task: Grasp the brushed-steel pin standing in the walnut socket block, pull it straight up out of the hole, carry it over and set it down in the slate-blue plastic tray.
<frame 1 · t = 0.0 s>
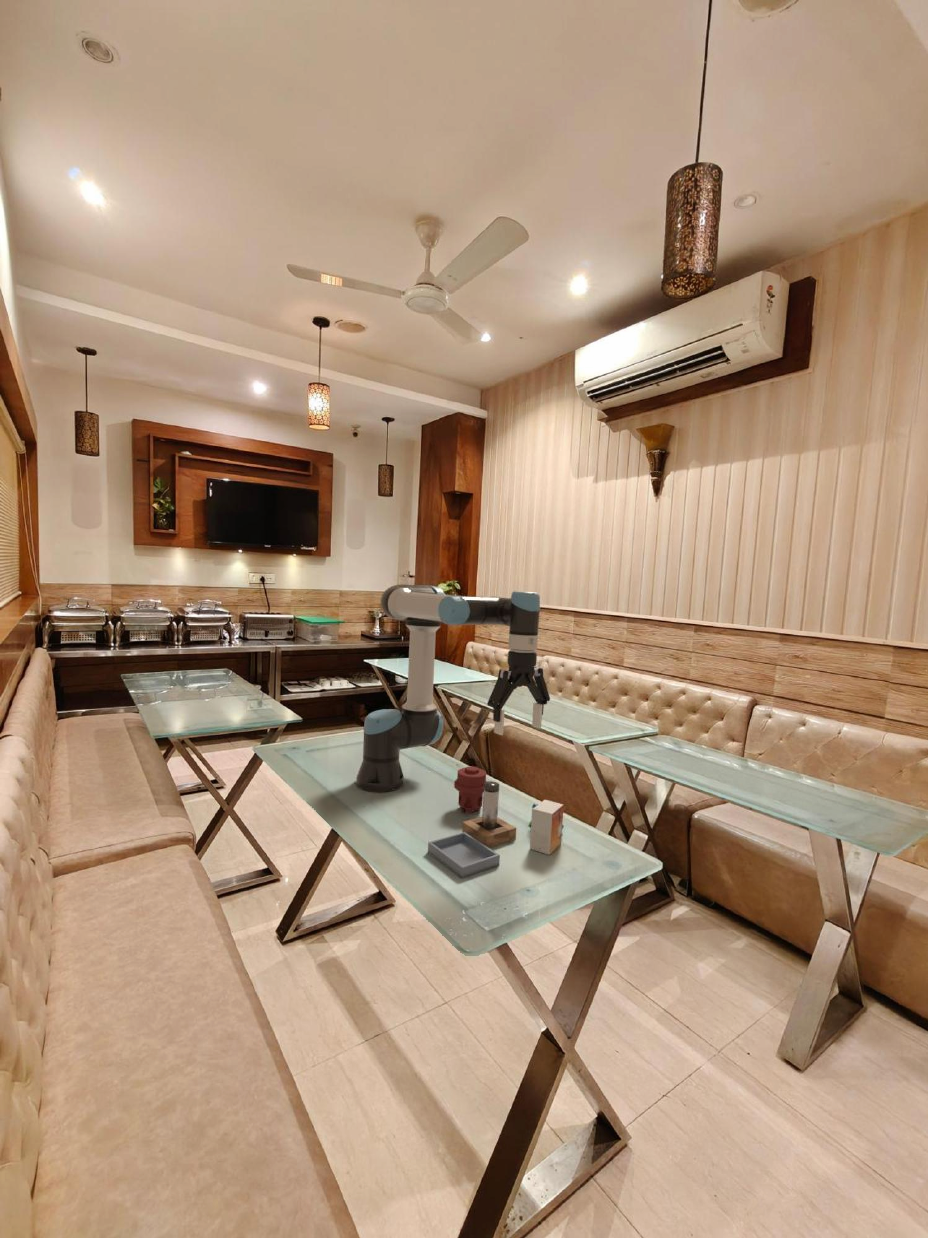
hand: (518, 730, 144), 28 cm above the table, fingers open, 13 cm apart
small box: (545, 847, 140), on the table
socket: (488, 836, 144), on the table
pin: (490, 810, 143), in the socket
mechanical component: (469, 810, 160), on the table
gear: (545, 830, 150), on the table
tray: (462, 858, 131), on the table
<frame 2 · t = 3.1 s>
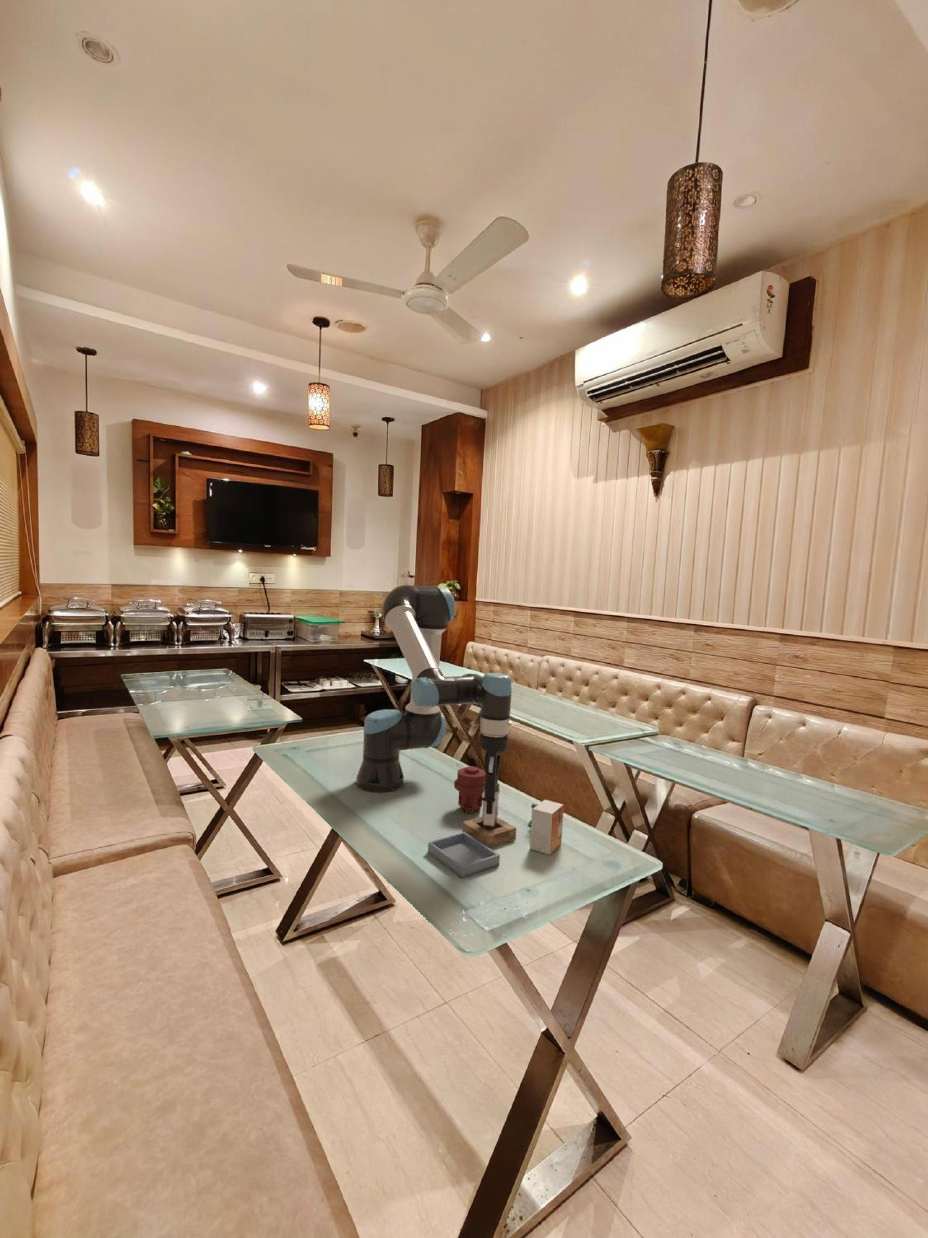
hand: (489, 820, 144), 4 cm above the table, fingers closed on pin, 4 cm apart
pin: (490, 810, 143), in the socket, touching gripper
everything else where it was.
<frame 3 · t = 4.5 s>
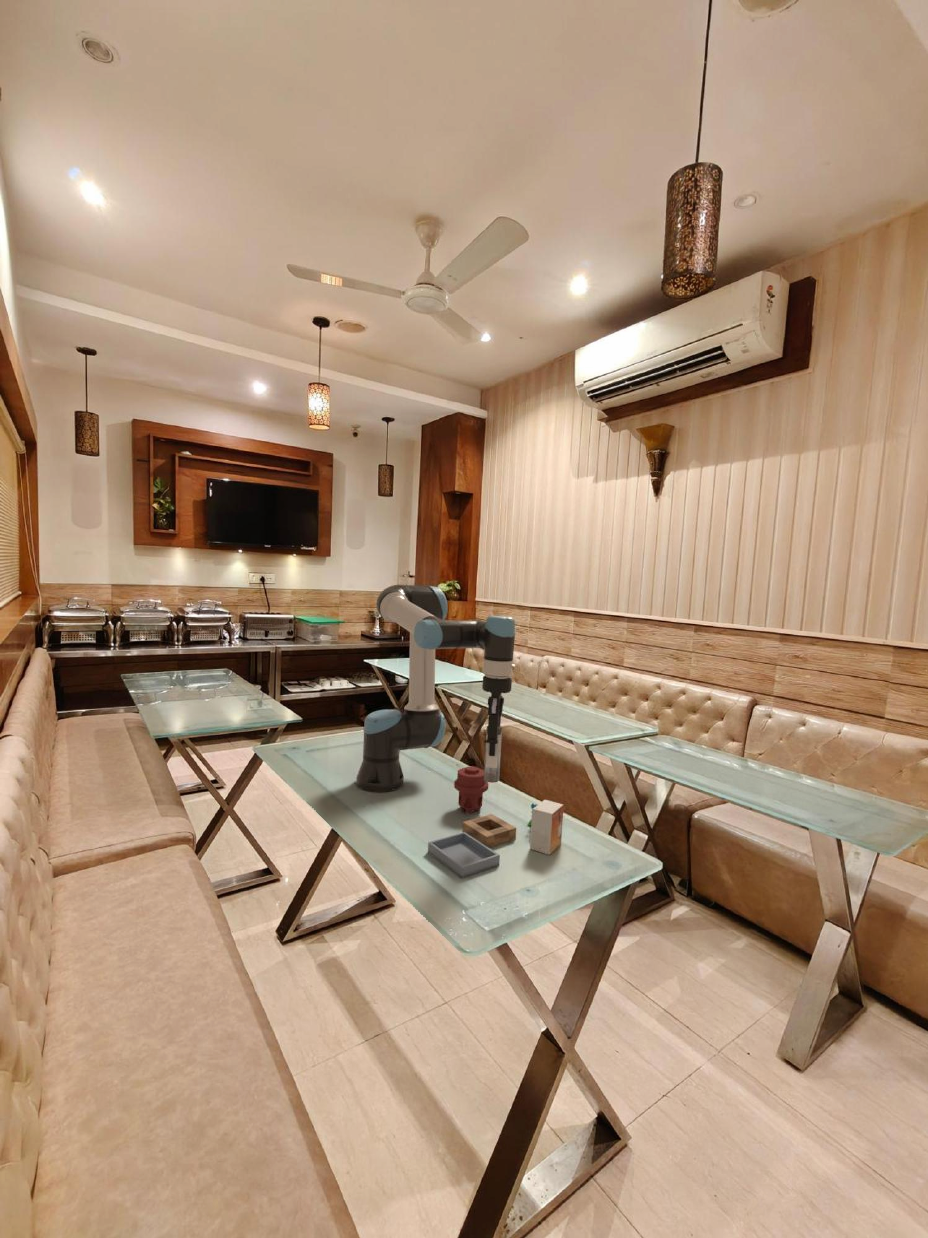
hand: (492, 764, 143), 19 cm above the table, fingers closed on pin, 4 cm apart
pin: (492, 753, 143), point 22 cm above the table, touching gripper
everything else where it was.
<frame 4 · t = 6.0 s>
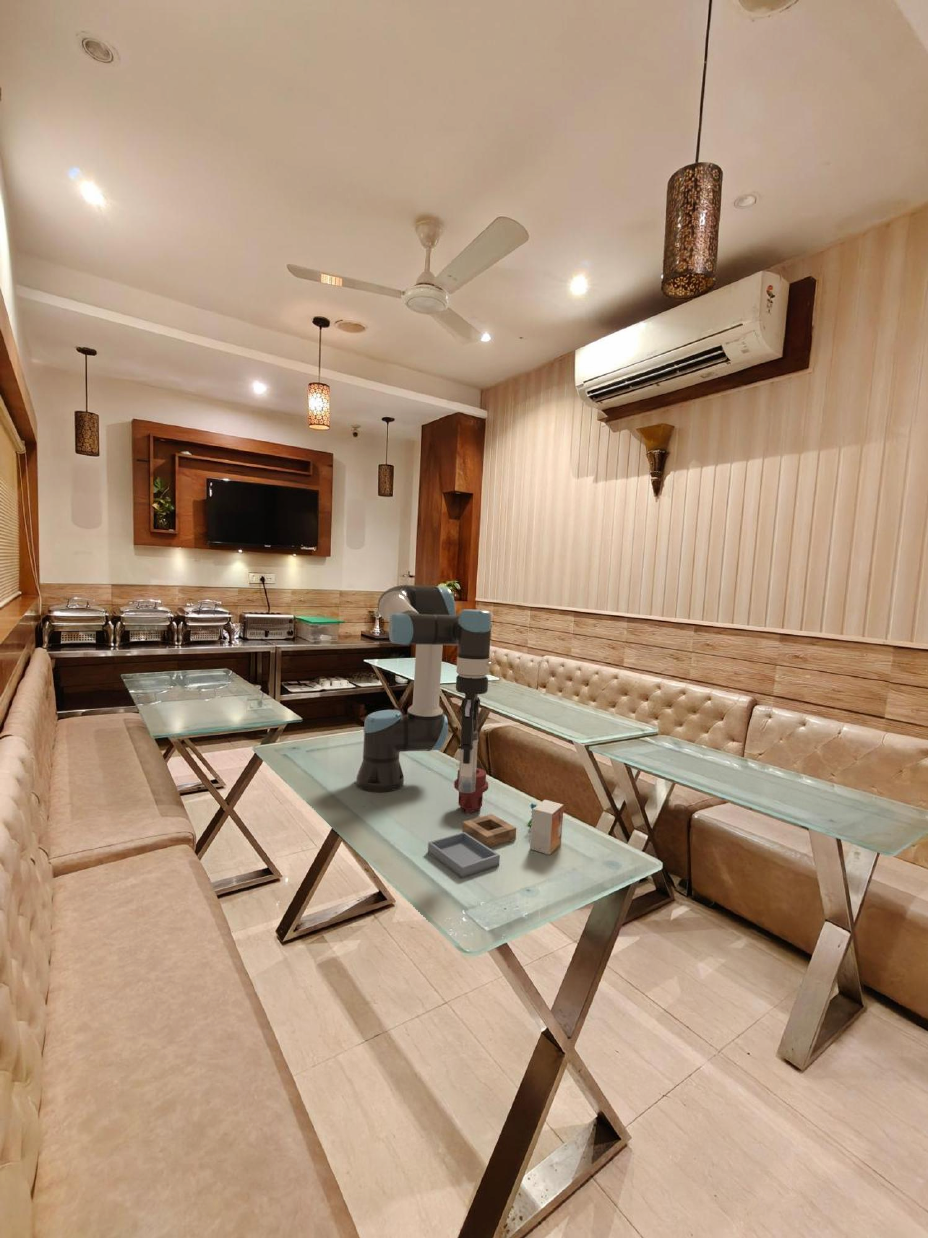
hand: (467, 772, 130), 21 cm above the table, fingers closed on pin, 4 cm apart
pin: (468, 761, 130), point 24 cm above the table, touching gripper
everything else where it was.
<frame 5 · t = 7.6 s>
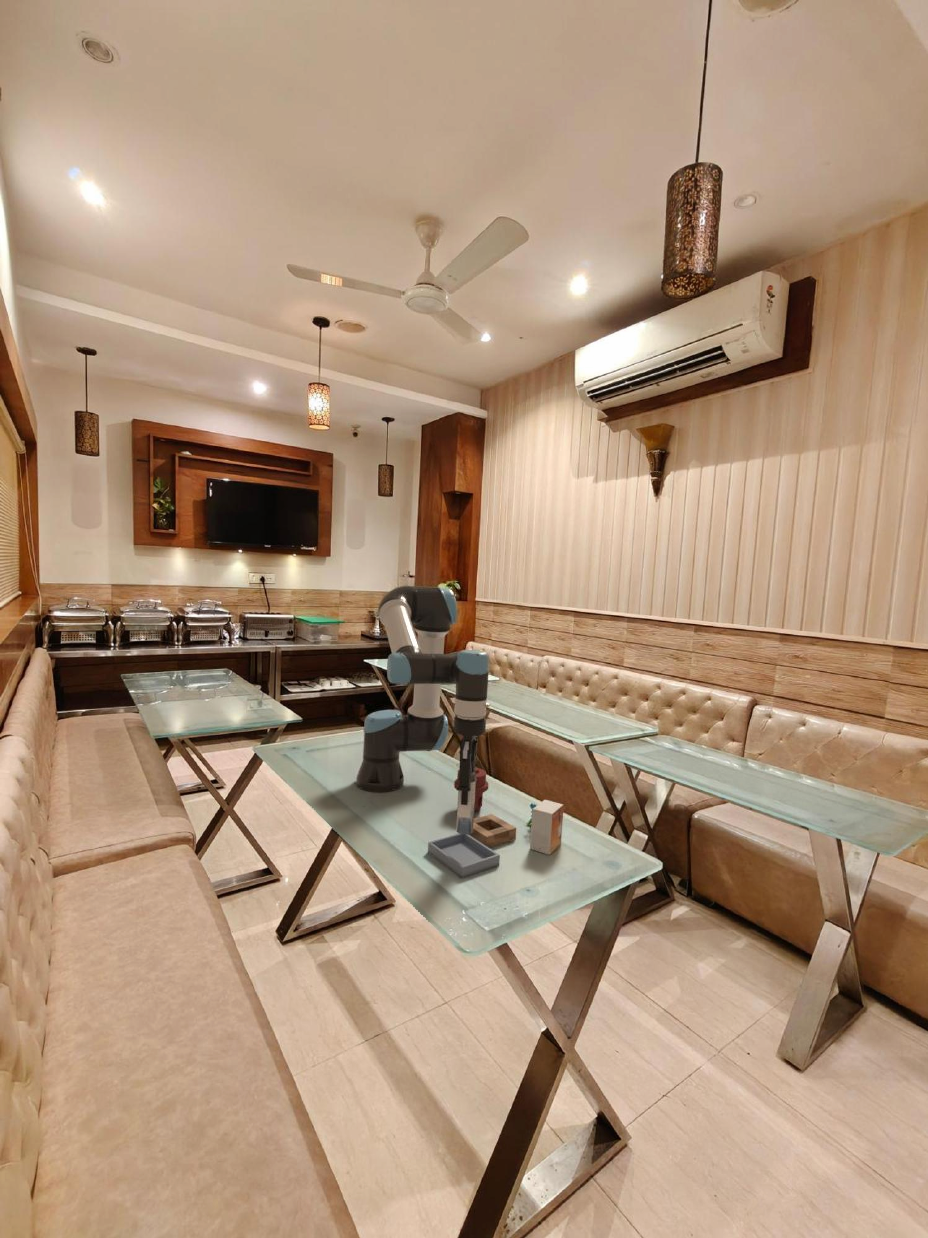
hand: (465, 812, 130), 11 cm above the table, fingers closed on pin, 4 cm apart
pin: (466, 802, 130), point 14 cm above the table, touching gripper
everything else where it was.
when the fingers open (6 cm above the table, at t = 9.0 s): pin stays where it is, resting on tray.
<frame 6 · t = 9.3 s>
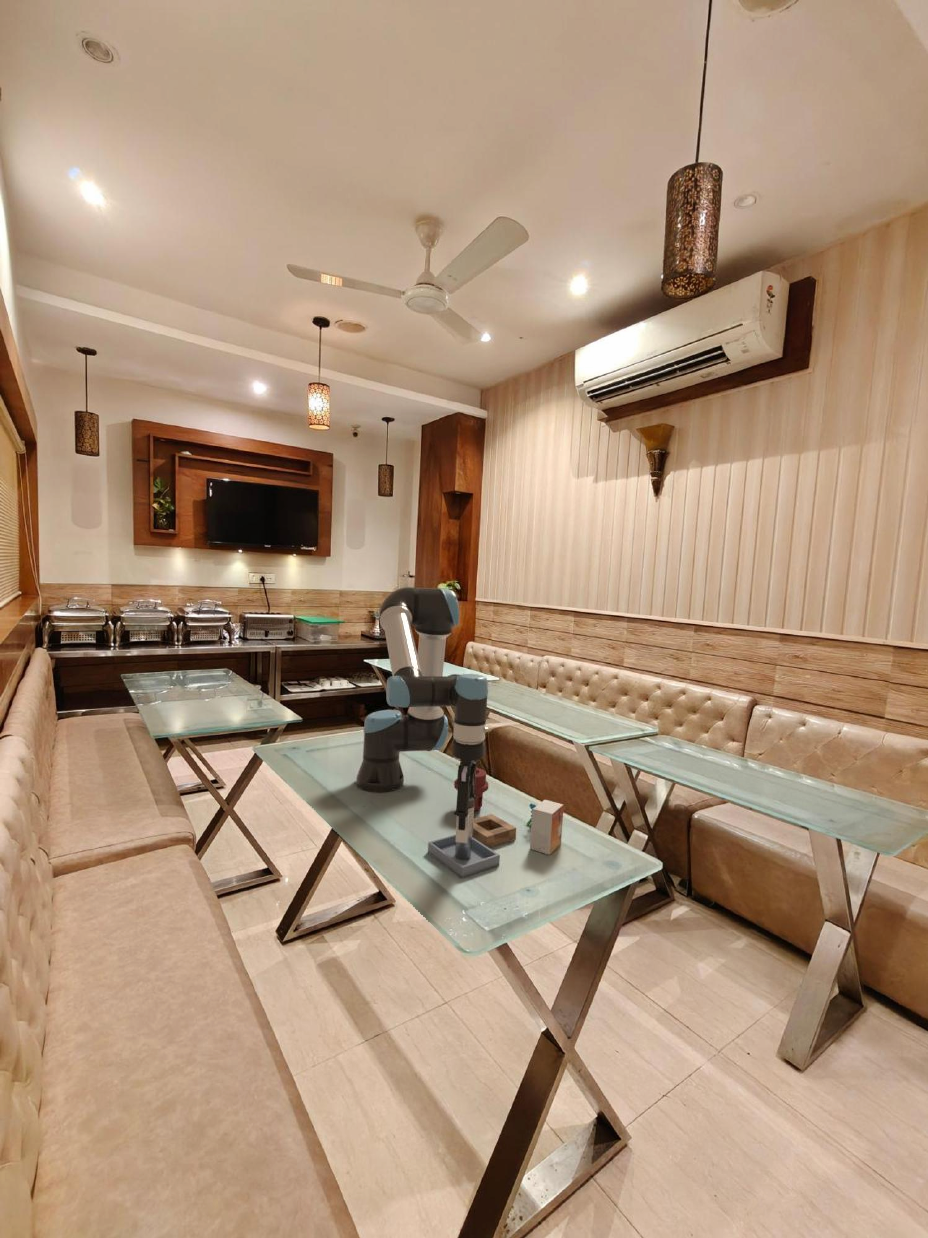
hand: (464, 833, 131), 6 cm above the table, fingers open, 8 cm apart
pin: (464, 827, 131), in the tray, point 8 cm above the table
everything else where it was.
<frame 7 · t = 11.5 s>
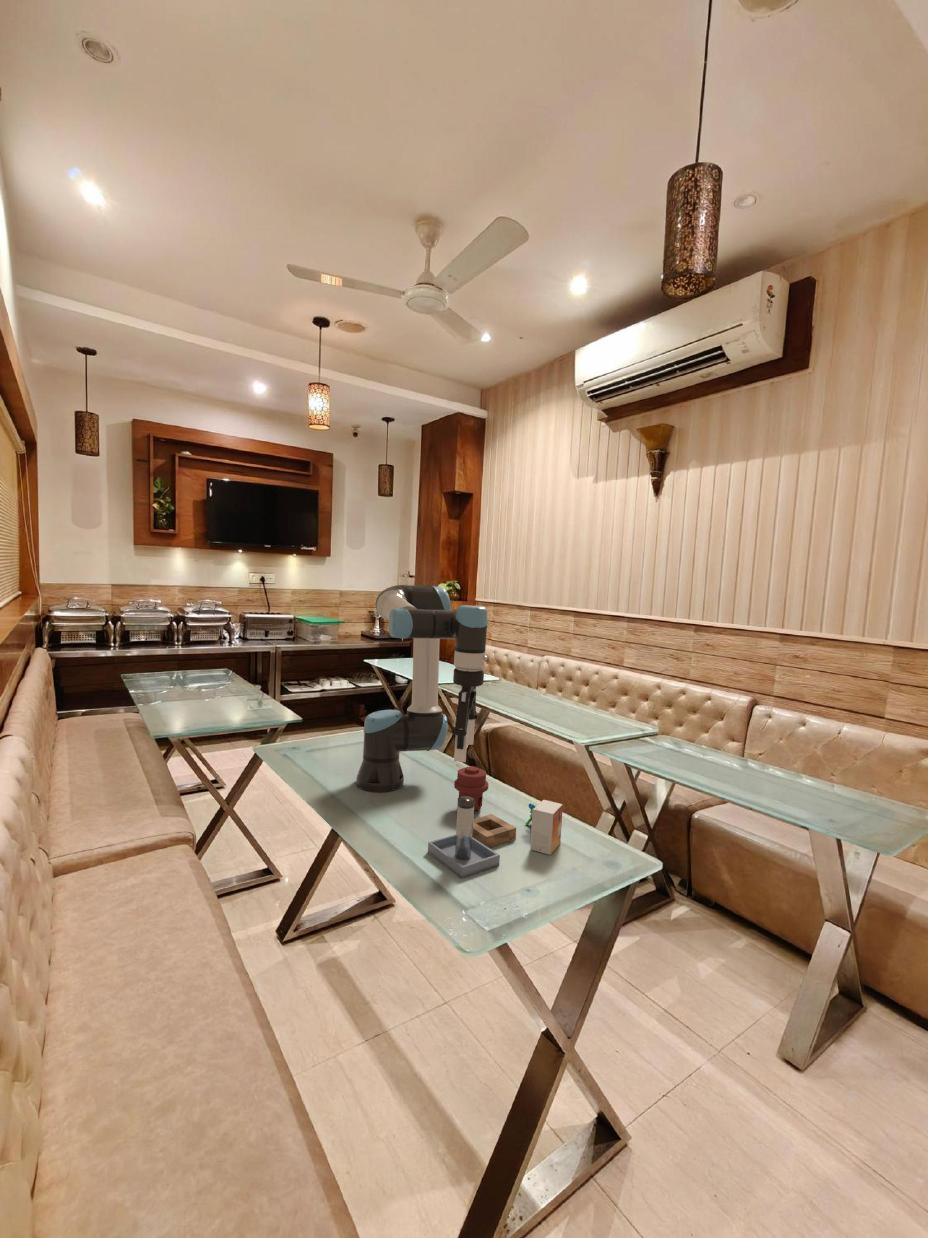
hand: (464, 752, 137), 24 cm above the table, fingers open, 13 cm apart
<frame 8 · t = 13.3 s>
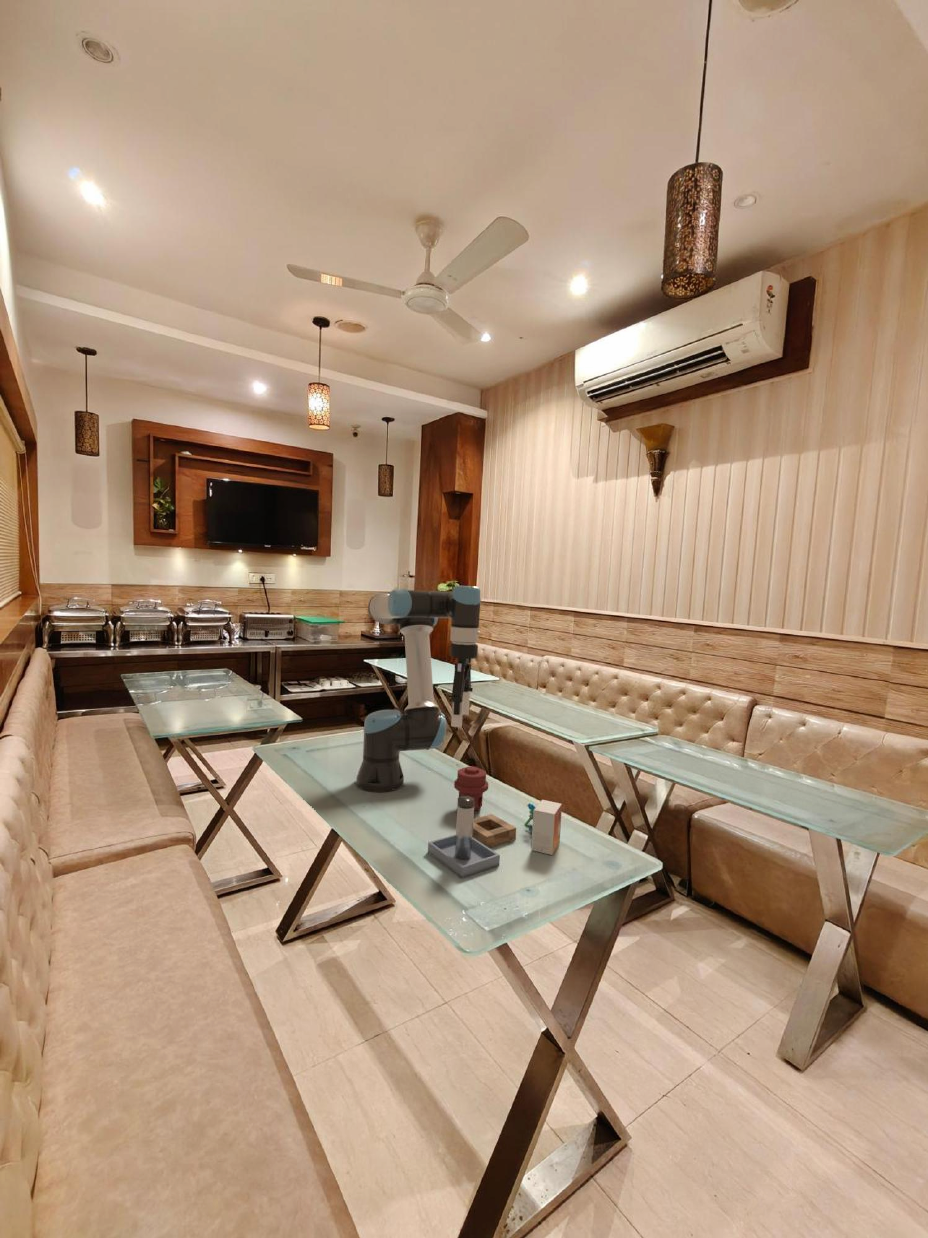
hand: (460, 720, 149), 29 cm above the table, fingers open, 13 cm apart
at the end: pin inside the target area on the tray (0.0 cm from its centre), point 7.6 cm above the tray's base; pin touching tray; the gripper is holding nothing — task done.
